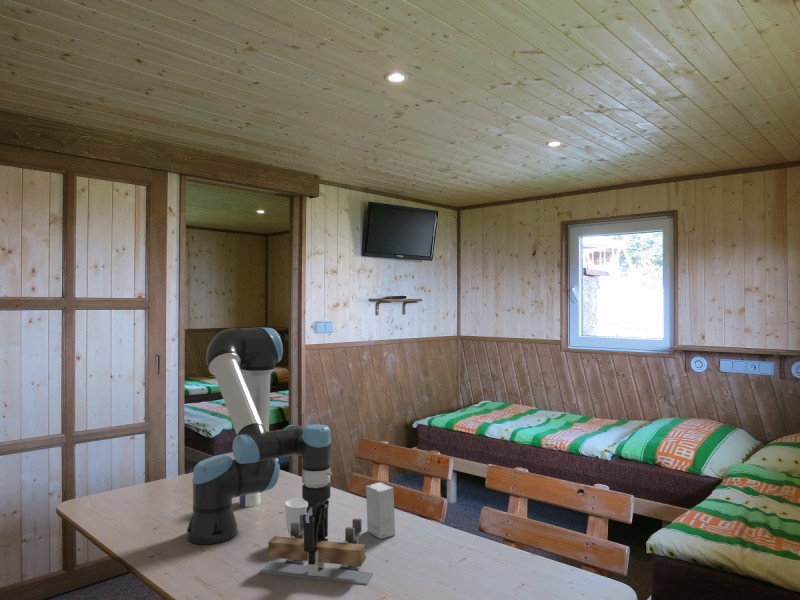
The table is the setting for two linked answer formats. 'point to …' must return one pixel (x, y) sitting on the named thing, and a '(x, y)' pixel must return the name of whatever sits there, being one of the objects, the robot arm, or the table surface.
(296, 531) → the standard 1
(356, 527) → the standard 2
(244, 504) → the water bottle
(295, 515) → the mug
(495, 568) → the table surface
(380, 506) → the skincare box
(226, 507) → the robot arm
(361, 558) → the rail
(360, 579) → the mat
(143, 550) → the table surface
